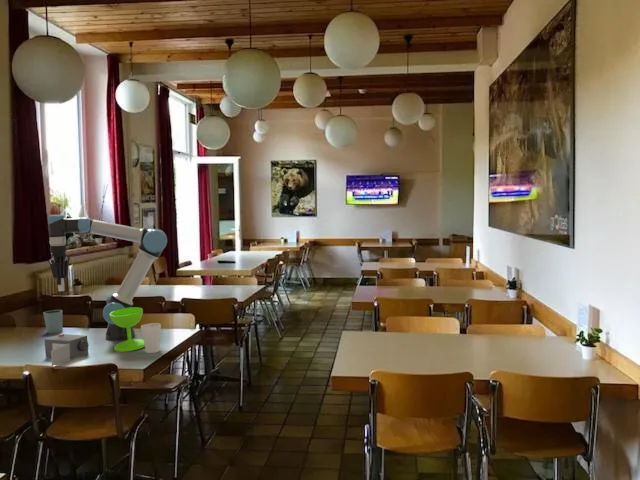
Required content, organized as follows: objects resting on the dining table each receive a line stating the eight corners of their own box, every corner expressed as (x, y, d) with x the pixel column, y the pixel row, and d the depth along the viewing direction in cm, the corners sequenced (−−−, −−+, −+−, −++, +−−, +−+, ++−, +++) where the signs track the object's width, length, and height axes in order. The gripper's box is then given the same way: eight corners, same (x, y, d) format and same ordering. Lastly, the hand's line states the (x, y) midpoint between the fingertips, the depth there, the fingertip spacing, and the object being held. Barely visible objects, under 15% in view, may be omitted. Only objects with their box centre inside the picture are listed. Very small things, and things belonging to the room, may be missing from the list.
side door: (69, 358, 275) (68, 343, 274) (71, 358, 275) (70, 343, 274) (51, 367, 261) (50, 351, 261) (53, 367, 261) (52, 351, 261)
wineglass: (119, 354, 284) (114, 318, 281) (110, 346, 297) (105, 312, 294) (151, 345, 292) (147, 311, 289) (141, 338, 305) (137, 305, 303)
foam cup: (151, 354, 278) (149, 328, 277) (138, 352, 283) (136, 326, 282) (166, 350, 286) (164, 324, 285) (153, 348, 291) (151, 322, 290)
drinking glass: (67, 330, 342) (65, 310, 341) (51, 334, 334) (49, 313, 333) (57, 329, 348) (55, 309, 347) (41, 332, 339) (39, 312, 338)
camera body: (91, 354, 285) (90, 334, 284) (73, 360, 274) (72, 339, 274) (63, 351, 292) (62, 332, 291) (45, 357, 281) (44, 337, 281)
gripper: (61, 244, 304) (64, 288, 306) (42, 246, 292) (46, 293, 293) (73, 243, 302) (76, 289, 303) (54, 246, 289) (58, 293, 291)
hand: (61, 290), depth 298 cm, fingers closed
